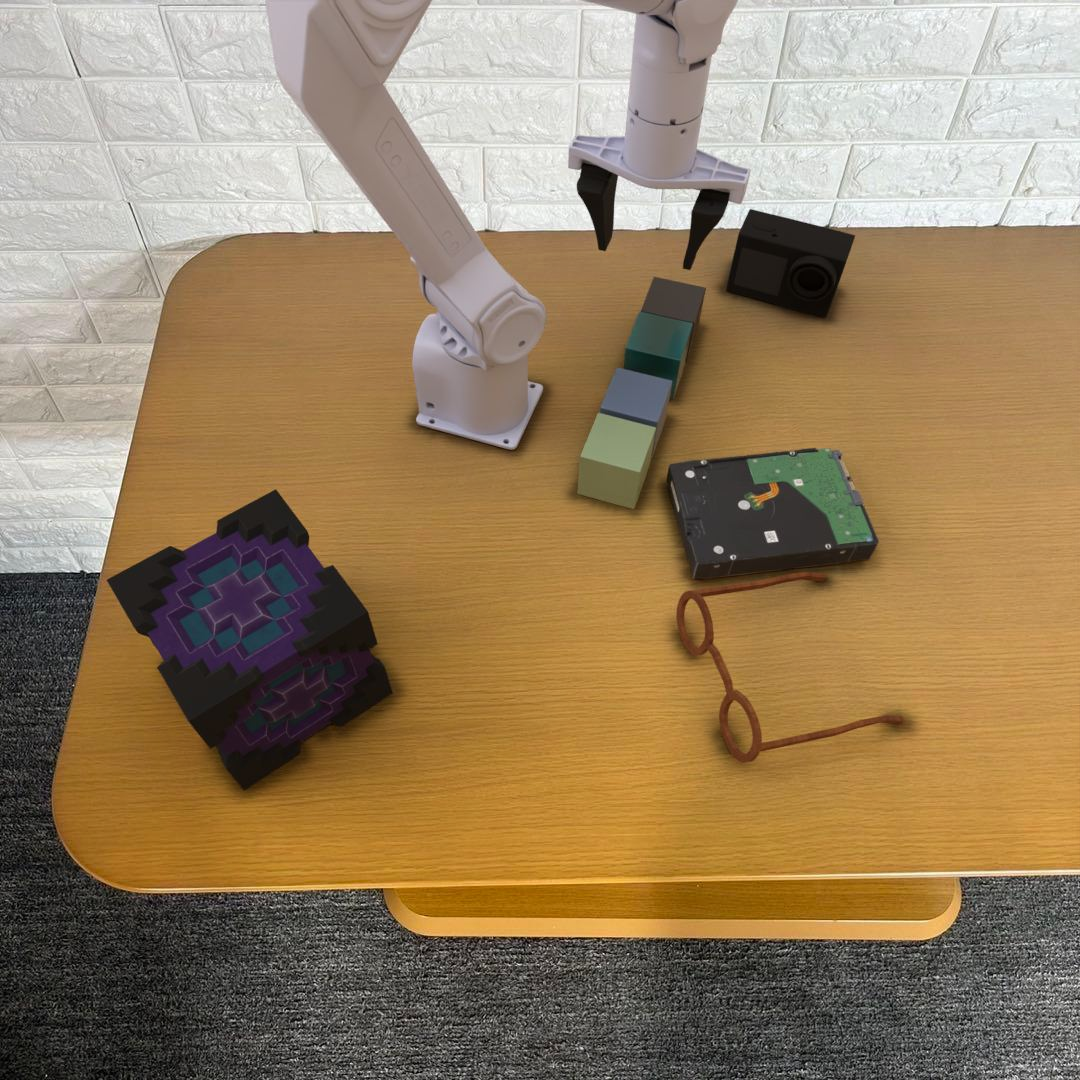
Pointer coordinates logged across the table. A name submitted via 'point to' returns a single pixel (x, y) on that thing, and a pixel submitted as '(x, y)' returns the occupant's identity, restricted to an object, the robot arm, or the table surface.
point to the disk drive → (769, 512)
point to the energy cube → (255, 637)
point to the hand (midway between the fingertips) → (646, 253)
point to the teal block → (658, 347)
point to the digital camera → (788, 262)
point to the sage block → (615, 460)
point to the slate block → (638, 399)
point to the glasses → (730, 693)
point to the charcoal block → (675, 302)
